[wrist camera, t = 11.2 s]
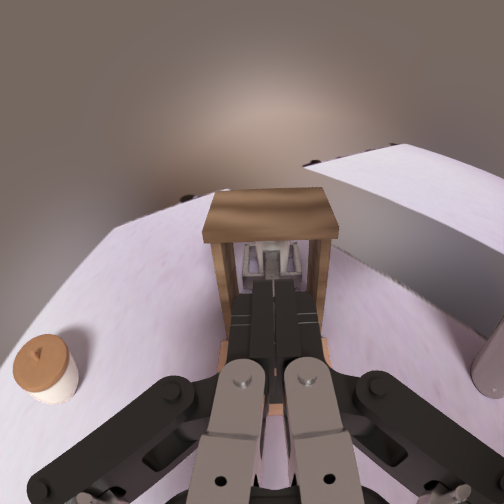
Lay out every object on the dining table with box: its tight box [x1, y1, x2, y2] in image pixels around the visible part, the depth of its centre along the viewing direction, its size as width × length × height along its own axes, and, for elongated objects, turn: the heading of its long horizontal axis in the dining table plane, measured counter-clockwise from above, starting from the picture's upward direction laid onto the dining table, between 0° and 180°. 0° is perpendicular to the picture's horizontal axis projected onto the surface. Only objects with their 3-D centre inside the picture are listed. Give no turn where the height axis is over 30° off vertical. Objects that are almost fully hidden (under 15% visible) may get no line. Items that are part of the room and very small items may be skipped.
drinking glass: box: [255, 240, 290, 273], centre depth 56 cm, size 7×7×15 cm
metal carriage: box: [234, 242, 312, 343], centre depth 52 cm, size 26×11×11 cm, turn 178°
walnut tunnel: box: [202, 187, 339, 341], centre depth 45 cm, size 12×16×21 cm
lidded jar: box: [13, 334, 79, 405], centre depth 36 cm, size 11×11×9 cm
